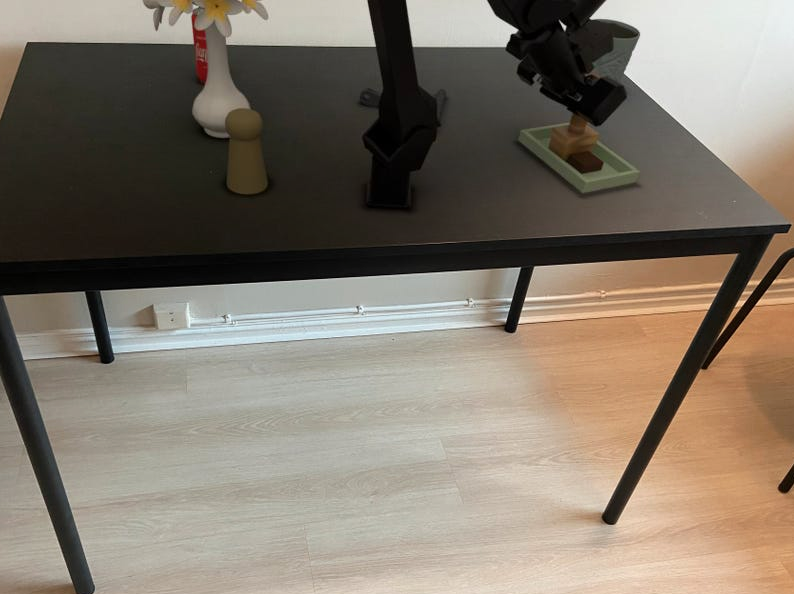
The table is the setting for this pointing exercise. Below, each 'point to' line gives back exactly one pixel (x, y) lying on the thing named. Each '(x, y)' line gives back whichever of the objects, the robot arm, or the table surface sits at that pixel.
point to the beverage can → (200, 49)
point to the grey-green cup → (617, 50)
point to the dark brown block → (585, 162)
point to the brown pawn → (245, 152)
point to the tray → (609, 176)
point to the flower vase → (212, 56)
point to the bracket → (375, 95)
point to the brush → (573, 136)
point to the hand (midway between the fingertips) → (587, 113)
